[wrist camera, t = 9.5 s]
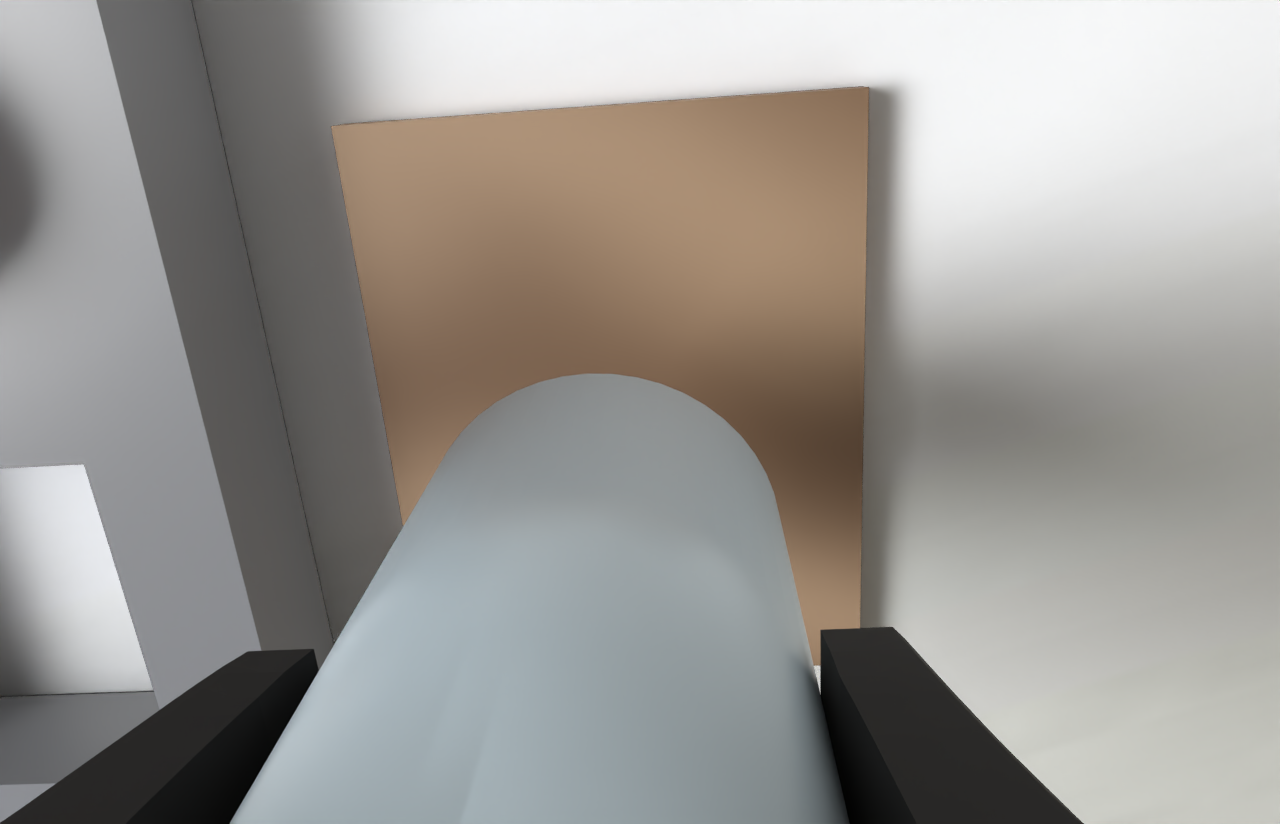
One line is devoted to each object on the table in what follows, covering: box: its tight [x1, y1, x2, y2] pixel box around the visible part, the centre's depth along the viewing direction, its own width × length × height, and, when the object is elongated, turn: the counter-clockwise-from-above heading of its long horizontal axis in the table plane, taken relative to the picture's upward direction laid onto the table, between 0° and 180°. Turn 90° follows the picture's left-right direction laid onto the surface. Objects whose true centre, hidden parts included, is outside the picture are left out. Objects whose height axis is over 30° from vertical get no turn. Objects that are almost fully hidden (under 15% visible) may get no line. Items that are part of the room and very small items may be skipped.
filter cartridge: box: [230, 374, 850, 824], centre depth 7 cm, size 5×5×9 cm
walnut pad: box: [331, 87, 869, 665], centre depth 16 cm, size 10×8×1 cm
